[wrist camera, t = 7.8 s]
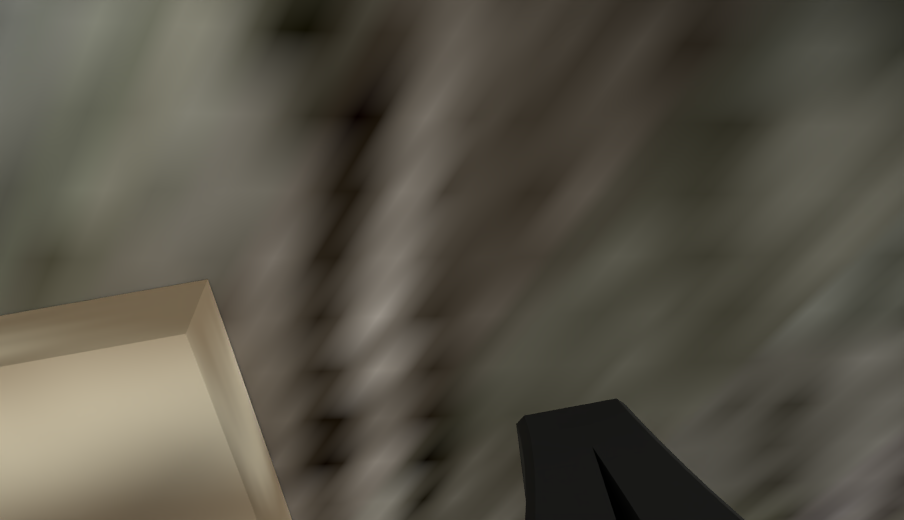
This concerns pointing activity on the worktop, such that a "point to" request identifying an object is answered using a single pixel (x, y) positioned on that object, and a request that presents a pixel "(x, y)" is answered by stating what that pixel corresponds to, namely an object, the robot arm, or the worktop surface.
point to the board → (129, 414)
